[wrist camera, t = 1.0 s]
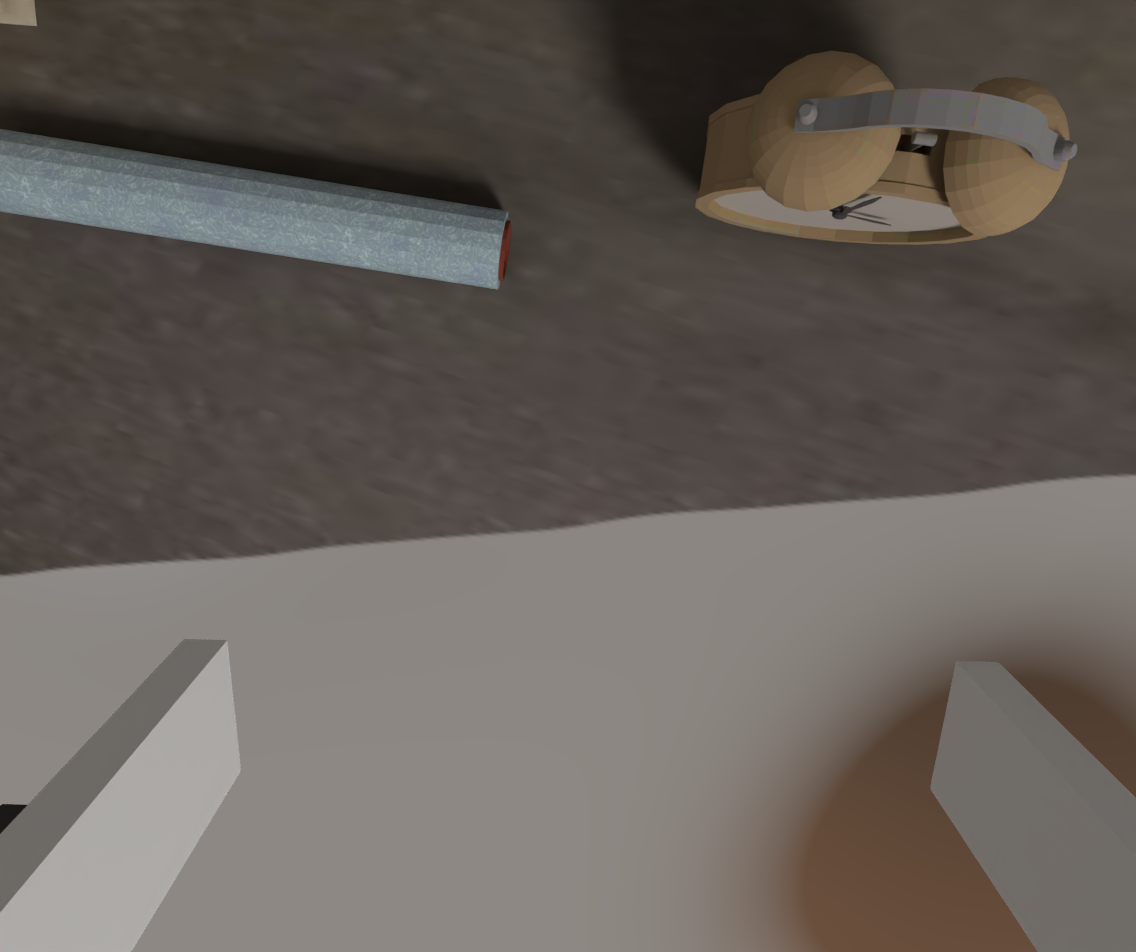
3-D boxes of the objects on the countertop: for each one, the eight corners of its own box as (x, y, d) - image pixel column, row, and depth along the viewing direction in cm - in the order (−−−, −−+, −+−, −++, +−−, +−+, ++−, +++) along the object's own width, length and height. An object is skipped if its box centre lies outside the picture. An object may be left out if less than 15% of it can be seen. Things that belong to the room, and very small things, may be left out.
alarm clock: (672, 220, 36) (749, 199, 21) (691, 103, 34) (786, -3, 20) (911, 253, 36) (1142, 255, 22) (938, 139, 35) (1204, 61, 20)
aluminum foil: (514, 213, 36) (509, 209, 33) (495, 356, 38) (489, 366, 35) (12, 132, 35) (-45, 119, 32) (17, 283, 37) (-36, 286, 33)
